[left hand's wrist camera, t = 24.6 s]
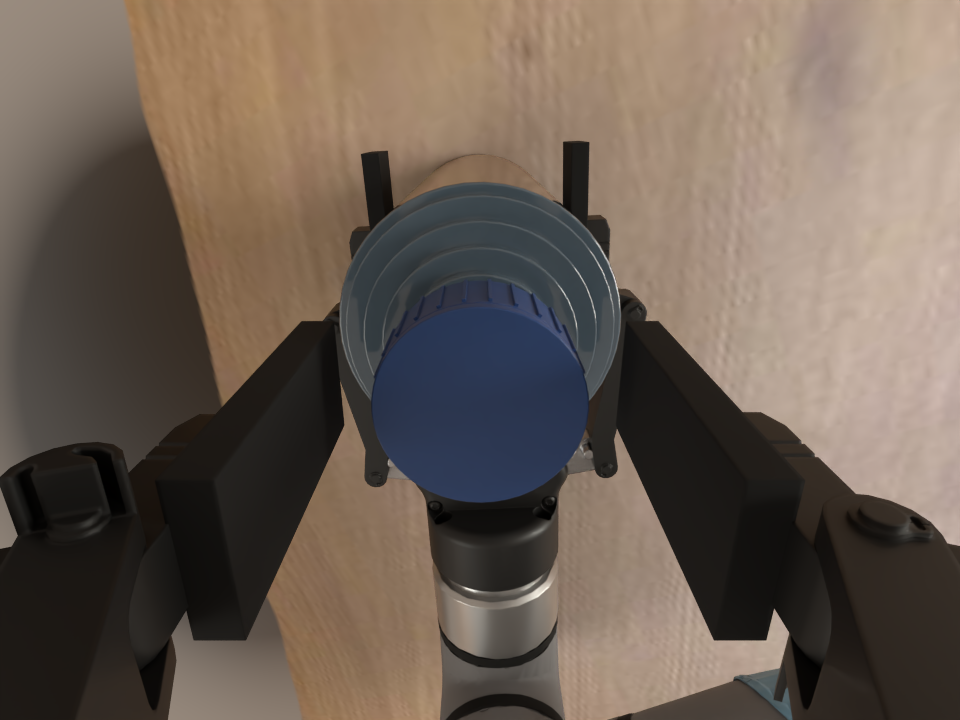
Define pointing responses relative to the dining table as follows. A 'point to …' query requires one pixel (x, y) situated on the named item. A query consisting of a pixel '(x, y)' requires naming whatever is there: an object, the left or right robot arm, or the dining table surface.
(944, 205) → the dining table surface
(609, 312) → the bottle
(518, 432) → the cap
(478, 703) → the right robot arm
